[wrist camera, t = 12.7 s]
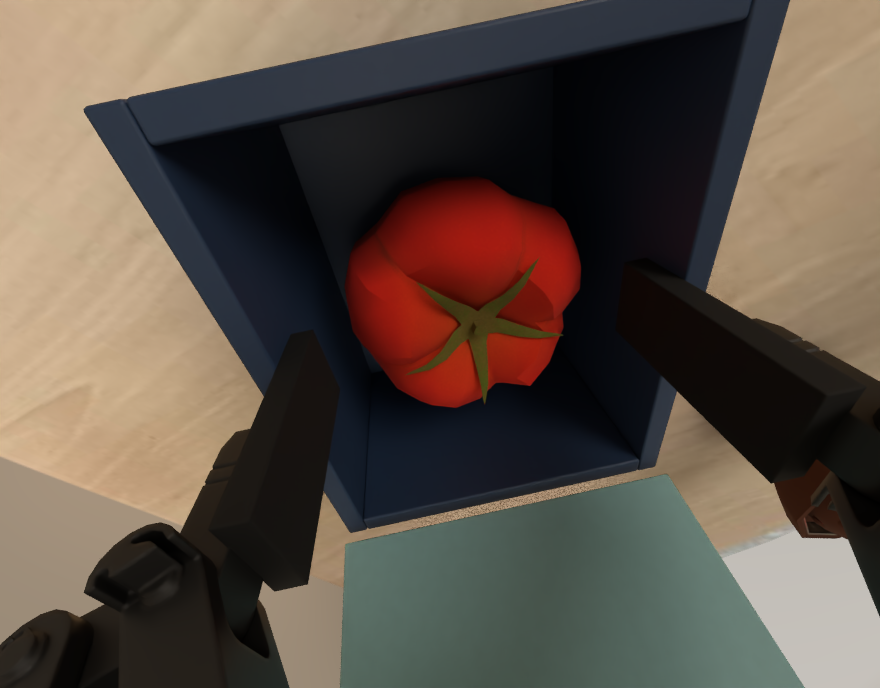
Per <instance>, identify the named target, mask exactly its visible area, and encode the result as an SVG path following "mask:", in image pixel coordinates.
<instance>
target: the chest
mask: <svg viewBox="0 0 880 688" xmlns="http://www.w3.org/2000/svg"><path fill="white" fill-rule="evenodd" d="M789 2H790V0H584V1H580V2H575V3H570V4H566V5H561V6H556V7H551V8H547V9H542V10H537V11H533V12H528V13H523V14H518V15H514V16H509V17H504V18H500V19H495V20H490V21H485V22H481V23H476V24H471V25H467V26H462V27H457V28H453V29H448V30H443V31H438V32H434V33H429V34H424V35H420V36H415V37H410V38H405V39H401V40H396V41H391V42H387V43H382V44H377V45H372V46H368V47H363V48H358V49H354V50H349V51H344V52H339V53H335V54H330V55H325V56H321V57H316V58H311V59H306V60H302V61H297V62H292V63H288V64H283V65H278V66H274V67H269V68H264V69H259V70H255V71H250V72H245V73H241V74H236V75H231V76H226V77H222V78H217V79H212V80H208V81H203V82H198V83H193V84H189V85H184V86H179V87H175V88H170V89H165V90H160V91H156V92H151V93H146V94H142V95H137V96H132V97H129V98H128V99H118V100H113V101H109V102H104V103H99V104H94V105H90V106H86V107H85V108H84V113H85V114H86V116H87V118H88V119H89V121H90V122H91V124H92V126H93V127H94V129H95V130H96V132H97V133H98V135H99V137H100V138H101V140H102V141H103V143H104V144H105V146H106V148H107V149H108V151H109V152H110V154H111V156H112V157H113V159H114V160H115V162H116V163H117V165H118V167H119V168H120V170H121V171H122V173H123V175H124V176H125V178H126V179H127V181H128V182H129V184H130V186H131V187H132V189H133V190H134V192H135V193H136V195H137V197H138V198H139V200H140V201H141V203H142V205H143V206H144V208H145V209H146V211H147V212H148V214H149V216H150V217H151V219H152V220H153V222H154V223H155V225H156V227H157V228H158V230H159V231H160V233H161V235H162V236H163V238H164V239H165V241H166V242H167V244H168V246H169V247H170V249H171V250H172V252H173V254H174V255H175V257H176V258H177V260H178V261H179V263H180V265H181V266H182V268H183V269H184V271H185V272H186V274H187V276H188V277H189V279H190V280H191V282H192V284H193V285H194V287H195V288H196V290H197V291H198V293H199V295H200V296H201V298H202V299H203V301H204V302H205V304H206V306H207V307H208V309H209V310H210V312H211V314H212V315H213V317H214V318H215V320H216V321H217V323H218V325H219V326H220V328H221V329H222V331H223V333H224V334H225V336H226V337H227V339H228V340H229V342H230V344H231V345H232V347H233V348H234V350H235V351H236V353H237V355H238V356H239V358H240V359H241V361H242V363H243V364H244V366H245V367H246V369H247V370H248V372H249V374H250V375H251V377H252V378H253V380H254V381H255V383H256V385H257V386H258V388H259V389H260V391H261V393H262V394H263V396H265V393H266V391H267V389H268V386H269V384H270V382H271V379H272V377H273V375H274V372H275V370H276V368H277V365H278V363H279V360H280V358H281V356H282V353H283V351H284V349H285V346H286V344H287V342H288V339H289V337H290V335H291V334H294V333H298V332H303V331H307V330H312V329H313V330H314V333H315V335H316V337H317V339H318V341H319V344H320V346H321V348H322V350H323V352H324V355H325V357H326V359H327V361H328V363H329V366H330V368H331V370H332V372H333V374H334V377H335V379H336V381H337V383H338V385H339V388H340V394H339V400H338V406H337V412H336V418H335V424H334V430H333V436H332V442H331V448H330V454H329V460H328V466H327V472H326V478H325V484H324V490H323V491H324V492H325V494H326V495H327V497H328V498H329V500H330V502H331V503H332V505H333V506H334V508H335V509H336V511H337V513H338V514H339V516H340V517H341V519H342V521H343V522H344V524H345V525H346V527H347V528H348V530H349V532H350V533H353V532H358V531H362V530H366V529H367V527H368V528H369V529H371V528H376V527H380V526H385V525H389V524H394V523H399V522H403V521H408V520H412V519H417V518H421V517H426V516H431V515H435V514H440V513H444V512H449V511H454V510H458V509H463V508H467V507H472V506H477V505H481V504H486V503H490V502H495V501H499V500H504V499H509V498H513V497H518V496H522V495H527V494H532V493H536V492H541V491H545V490H550V489H554V488H559V487H564V486H568V485H573V484H577V483H582V482H587V481H591V480H596V479H600V478H605V477H609V476H614V475H619V474H623V473H628V472H632V471H636V470H637V469H638V470H642V469H647V468H652V467H654V466H655V465H656V461H657V458H658V454H659V451H660V448H661V444H662V441H663V437H664V434H665V430H666V427H667V423H668V420H669V416H670V413H671V410H672V406H673V403H674V399H675V396H676V392H677V390H676V389H674V388H673V387H672V386H671V385H670V384H669V383H668V382H667V381H666V380H665V379H664V378H663V377H662V376H661V375H660V374H659V373H658V372H657V371H656V370H655V369H654V368H653V367H652V366H651V365H650V364H649V363H648V362H647V361H646V360H645V359H644V358H643V357H642V356H641V355H640V354H639V353H638V352H637V351H636V350H635V349H634V348H633V347H632V346H631V345H630V344H629V343H628V342H627V341H626V340H625V339H624V338H623V337H622V336H621V335H620V334H619V333H618V332H616V331H615V327H616V320H617V312H618V305H619V297H620V290H621V282H622V275H623V268H624V262H628V261H633V260H638V259H642V258H648V259H650V260H651V261H653V262H655V263H656V264H658V265H660V266H662V267H663V268H665V269H667V270H668V271H670V272H672V273H674V274H675V275H677V276H679V277H680V278H682V279H684V280H685V281H687V282H689V283H691V284H692V285H694V286H696V287H697V288H699V289H701V290H703V291H704V292H706V289H707V285H708V282H709V278H710V275H711V271H712V268H713V264H714V261H715V258H716V254H717V251H718V247H719V244H720V240H721V237H722V233H723V230H724V226H725V223H726V220H727V216H728V213H729V209H730V206H731V202H732V199H733V195H734V192H735V188H736V185H737V182H738V178H739V175H740V171H741V168H742V164H743V161H744V157H745V154H746V150H747V147H748V144H749V140H750V137H751V133H752V130H753V126H754V123H755V119H756V116H757V112H758V109H759V106H760V102H761V99H762V95H763V92H764V88H765V85H766V81H767V78H768V74H769V71H770V68H771V64H772V61H773V57H774V54H775V50H776V47H777V43H778V40H779V36H780V33H781V30H782V26H783V23H784V19H785V16H786V12H787V9H788V5H789ZM474 176H478V177H481V178H485V179H488V180H490V181H491V182H493V183H494V184H496V185H497V186H499V187H500V188H501V189H503V190H504V191H506V192H507V193H509V194H510V195H513V196H516V197H519V198H523V199H526V200H529V201H532V202H535V203H538V204H541V205H545V206H548V207H552V208H554V209H555V210H556V211H557V212H558V213H559V214H560V215H561V216H562V217H563V218H564V219H565V221H566V223H567V225H568V227H569V230H570V232H571V235H572V237H573V239H574V242H575V244H576V247H577V249H578V254H579V259H580V264H581V279H580V289H579V291H578V292H577V293H576V295H575V296H574V297H573V299H572V300H571V301H570V303H569V304H568V306H567V307H566V308H565V310H564V311H563V312H562V315H563V329H562V332H561V334H562V335H563V336H560V337H559V339H558V342H557V344H556V347H555V349H554V352H553V354H552V357H551V359H550V362H549V363H548V365H547V366H546V367H545V368H544V370H543V371H542V372H541V373H540V374H539V376H538V377H537V378H536V379H535V381H534V382H533V383H532V384H531V385H530V386H528V385H519V384H511V383H503V382H502V383H495V384H494V385H493V386H492V387H491V388H490V389H489V390H488V391H487V396H486V401H485V404H484V401H483V396H482V397H481V398H480V399H478V400H475V401H473V402H470V403H468V404H465V405H462V406H460V407H457V408H453V407H444V406H435V405H430V404H427V403H424V402H421V401H419V400H417V399H415V398H414V397H412V396H410V395H408V394H406V393H405V392H403V391H401V390H399V389H397V388H396V386H395V385H394V384H393V382H392V381H391V380H390V378H389V377H388V376H387V374H386V373H385V372H384V370H383V369H382V368H381V366H380V365H379V364H378V362H377V361H376V360H375V358H374V357H373V356H372V354H371V353H370V352H369V351H368V349H366V348H365V347H364V346H363V344H362V343H361V342H360V340H359V339H358V338H357V336H356V335H355V334H354V333H353V330H352V325H351V320H350V314H349V309H348V304H347V298H346V292H345V280H346V275H347V269H348V264H349V258H350V253H351V251H352V249H353V247H354V244H355V242H357V241H358V240H359V239H360V238H361V237H362V236H363V235H364V234H365V233H367V232H368V231H369V230H370V229H371V228H372V227H373V226H374V225H375V224H376V223H377V222H378V221H379V220H380V218H381V217H382V216H383V214H384V213H385V212H386V210H387V209H388V208H389V207H390V205H391V204H392V203H393V201H394V200H395V199H396V197H397V196H398V195H399V193H400V192H401V191H404V190H406V189H409V188H412V187H414V186H417V185H420V184H422V183H425V182H428V181H430V180H433V179H436V178H448V177H474Z"/></svg>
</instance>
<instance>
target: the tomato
mask: <svg viewBox="0 0 880 688" xmlns="http://www.w3.org/2000/svg"><path fill="white" fill-rule="evenodd" d="M580 279H581V264H580V259H579V254H578V249H577V247H576V244H575V242H574V239H573V237H572V235H571V232H570V230H569V227H568V225H567V223H566V221H565V219H564V218H563V217H562V216H561V215H560V214H559V213H558V212H557V211H556V210H555V209H554V208H552V207H548V206H545V205H541V204H538V203H535V202H532V201H529V200H526V199H523V198H519V197H516V196H513V195H510V194H509V193H507V192H506V191H504V190H503V189H501V188H500V187H499V186H497V185H496V184H494V183H493V182H491V181H490V180H488V179H485V178H481V177H478V176H474V177H448V178H436V179H433V180H430V181H428V182H425V183H422V184H420V185H417V186H414V187H412V188H409V189H406V190H404V191H401V192H400V193H399V195H398V196H397V197H396V199H395V200H394V201H393V203H392V204H391V205H390V207H389V208H388V209H387V210H386V212H385V213H384V214H383V216H382V217H381V218H380V220H379V221H378V222H377V223H376V224H375V225H374V226H373V227H372V228H371V229H370V230H369V231H368V232H367V233H365V234H364V235H363V236H362V237H361V238H360V239H359V240H358V241H357V242H355V244H354V247H353V249H352V251H351V253H350V258H349V264H348V269H347V275H346V280H345V292H346V298H347V304H348V309H349V314H350V320H351V325H352V330H353V333H354V334H355V335H356V336H357V338H358V339H359V340H360V342H361V343H362V344H363V346H364V347H365V348H366V349H368V351H369V352H370V353H371V354H372V356H373V357H374V358H375V360H376V361H377V362H378V364H379V365H380V366H381V368H382V369H383V370H384V372H385V373H386V374H387V376H388V377H389V378H390V380H391V381H392V382H393V384H394V385H395V386H396V388H397V389H399V390H401V391H403V392H405V393H406V394H408V395H410V396H412V397H414V398H415V399H417V400H419V401H421V402H424V403H427V404H430V405H435V406H444V407H453V408H457V407H460V406H462V405H465V404H468V403H470V402H473V401H475V400H478V399H480V398H481V397H482V396H483V401H484V404H485V401H486V396H487V391H488V390H489V389H490V388H491V387H492V386H493V385H494V384H495V383H502V382H503V383H511V384H519V385H528V386H530V385H531V384H532V383H533V382H534V381H535V379H536V378H537V377H538V376H539V374H540V373H541V372H542V371H543V370H544V368H545V367H546V366H547V365H548V363H549V362H550V359H551V357H552V354H553V352H554V349H555V347H556V344H557V342H558V339H559V337H560V336H563V335H562V334H561V332H562V329H563V315H562V312H563V311H564V310H565V308H566V307H567V306H568V304H569V303H570V301H571V300H572V299H573V297H574V296H575V295H576V293H577V292H578V291H579V289H580Z"/></svg>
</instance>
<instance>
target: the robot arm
mask: <svg viewBox="0 0 880 688" xmlns="http://www.w3.org/2000/svg"><path fill="white" fill-rule="evenodd" d="M615 331H616V332H618V333H619V334H620V335H621V336H622V337H623V338H624V339H625V340H626V341H627V342H628V343H629V344H630V345H631V346H632V347H633V348H634V349H635V350H636V351H637V352H638V353H639V354H640V355H641V356H642V357H643V358H644V359H645V360H646V361H647V362H648V363H649V364H650V365H651V366H652V367H653V368H654V369H655V370H656V371H657V372H658V373H659V374H660V375H661V376H662V377H663V378H664V379H665V380H666V381H667V382H668V383H669V384H670V385H671V386H672V387H673V388H674V389H676V390H677V391H678V392H679V393H680V394H681V395H682V396H683V397H684V398H685V399H686V400H687V401H688V402H689V403H690V404H691V405H692V406H693V407H694V408H695V409H696V410H697V411H698V412H699V413H700V414H701V415H702V416H703V417H704V418H705V419H706V420H707V421H708V422H709V423H710V424H711V425H712V426H713V427H714V428H715V429H716V430H717V431H718V432H719V433H720V434H721V435H722V436H723V437H724V438H725V439H726V440H727V441H728V442H729V443H730V444H731V445H732V446H734V447H735V448H736V449H737V450H738V451H739V452H740V453H741V454H742V455H743V456H744V457H745V458H746V459H747V460H748V461H749V462H750V463H751V464H752V465H753V466H754V467H755V468H756V469H757V470H758V471H759V472H760V473H761V474H762V475H763V476H764V477H765V478H766V479H767V480H768V481H769V482H770V483H776V482H780V481H785V480H789V479H794V478H799V477H803V476H805V474H806V473H807V471H808V470H809V469H810V467H811V466H812V464H813V463H814V462H815V460H816V459H817V460H818V461H820V462H821V463H822V464H823V465H824V466H826V467H827V468H828V469H829V470H831V471H830V472H829V474H828V475H827V476H826V477H825V479H824V480H823V481H822V483H821V484H820V485H819V487H818V488H817V489H816V491H815V492H814V493H813V494H812V496H811V505H812V506H816V507H818V506H819V505H820V504H821V502H822V501H823V500H824V499H825V498H826V496H827V495H828V494H830V496H831V499H832V501H831V502H830V503H829V505H828V507H827V509H829V510H833V511H837V513H838V516H839V518H840V521H841V523H842V525H843V528H844V530H845V533H846V535H847V538H848V540H849V543H850V545H851V547H852V550H853V552H854V555H855V557H856V560H857V562H858V565H859V567H860V569H861V572H862V574H863V577H864V579H865V582H866V584H867V586H868V589H869V591H870V594H871V596H872V599H873V601H874V604H875V606H876V609H877V611H878V613H879V616H880V382H879V381H878V380H876V379H874V378H872V377H870V376H869V375H867V374H865V373H863V372H862V371H860V370H858V369H856V368H854V367H853V366H851V365H849V364H847V363H845V362H844V361H842V360H840V359H838V358H837V357H835V356H833V355H831V354H829V353H828V352H826V351H824V350H823V351H820V350H819V347H817V346H815V345H813V344H812V343H810V342H808V341H803V340H802V338H801V337H799V336H797V335H795V334H794V333H792V332H790V331H788V330H786V329H785V328H783V327H781V326H778V325H775V324H772V323H769V322H766V321H763V320H760V319H757V318H756V319H750V318H749V317H747V316H745V315H744V314H742V313H740V312H738V311H737V310H735V309H733V308H732V307H730V306H728V305H727V304H725V303H723V302H721V301H720V300H718V299H716V298H715V297H713V296H711V295H709V294H708V293H706V292H704V291H703V290H701V289H699V288H697V287H696V286H694V285H692V284H691V283H689V282H687V281H685V280H684V279H682V278H680V277H679V276H677V275H675V274H674V273H672V272H670V271H668V270H667V269H665V268H663V267H662V266H660V265H658V264H656V263H655V262H653V261H651V260H650V259H648V258H642V259H638V260H633V261H628V262H624V268H623V275H622V282H621V290H620V297H619V305H618V312H617V320H616V327H615ZM339 394H340V388H339V385H338V383H337V381H336V379H335V377H334V374H333V372H332V370H331V368H330V366H329V363H328V361H327V359H326V357H325V355H324V352H323V350H322V348H321V346H320V344H319V341H318V339H317V337H316V335H315V333H314V330H313V329H312V330H307V331H303V332H298V333H294V334H291V335H290V337H289V339H288V342H287V344H286V346H285V349H284V351H283V353H282V356H281V358H280V360H279V363H278V365H277V368H276V370H275V372H274V375H273V377H272V379H271V382H270V384H269V386H268V389H267V391H266V393H265V396H264V398H263V401H262V403H261V405H260V408H259V410H258V412H257V415H256V417H255V419H254V422H253V424H252V426H251V429H247V430H243V431H238V432H236V433H235V434H234V435H233V436H232V437H231V438H230V439H229V440H228V442H227V443H226V444H225V445H224V446H223V447H222V448H221V450H220V452H219V454H218V456H217V458H216V460H215V462H214V465H213V470H211V471H210V473H209V475H208V477H207V479H206V481H205V483H206V485H205V486H203V487H202V489H201V491H200V493H199V495H198V498H197V500H196V502H195V504H194V506H193V508H192V510H191V512H190V514H189V516H188V518H187V520H186V522H185V524H184V526H183V529H182V531H181V533H179V532H177V531H176V530H175V529H174V528H173V527H172V526H170V525H167V524H164V523H155V524H150V525H146V526H144V527H142V528H140V529H138V530H136V531H134V532H132V533H130V534H129V535H127V536H126V537H125V538H124V539H122V540H121V541H119V542H118V543H117V544H115V545H114V546H113V547H112V548H111V549H110V550H109V552H107V553H106V555H105V556H104V557H103V558H102V559H101V560H100V561H99V562H98V564H97V565H96V567H95V568H94V570H93V572H92V573H91V575H90V576H89V578H88V581H87V584H86V587H85V590H84V593H85V594H87V595H89V596H91V597H92V598H94V599H96V600H98V601H100V602H102V603H104V605H102V606H101V607H99V608H97V609H95V610H93V611H91V612H89V613H87V614H85V615H83V616H81V617H78V616H76V615H74V614H72V613H70V612H68V611H63V610H57V609H56V610H53V611H49V612H46V613H43V614H40V615H39V616H37V617H36V618H34V619H32V620H31V621H29V622H27V623H26V624H24V625H22V626H21V627H20V628H19V629H18V630H17V631H16V632H14V633H13V634H12V635H11V636H9V637H8V638H7V639H6V640H5V641H4V642H2V644H1V645H0V688H289V685H288V681H287V678H286V675H285V672H284V669H283V665H282V662H281V659H280V656H279V653H278V650H277V646H276V643H275V640H274V636H273V633H272V630H271V627H270V624H269V621H268V617H267V614H266V611H265V608H264V607H263V605H262V603H261V602H260V601H259V600H258V597H259V594H260V590H261V586H262V582H263V581H264V582H265V583H266V584H267V585H268V586H269V587H270V588H271V589H272V590H274V591H279V590H283V589H288V588H293V587H297V586H302V585H307V584H308V580H309V574H310V568H311V562H312V556H313V550H314V544H315V538H316V532H317V526H318V520H319V514H320V508H321V502H322V496H323V490H324V484H325V478H326V472H327V466H328V460H329V454H330V448H331V442H332V436H333V430H334V424H335V418H336V412H337V406H338V400H339Z"/></svg>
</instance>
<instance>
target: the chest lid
mask: <svg viewBox="0 0 880 688" xmlns="http://www.w3.org/2000/svg"><path fill="white" fill-rule="evenodd" d="M340 688H805V687H804V686H803V684H802V683H801V681H800V680H799V678H798V677H797V675H796V674H795V672H794V670H793V669H792V667H791V666H790V664H789V663H788V661H787V659H786V658H785V656H784V655H783V653H782V652H781V650H780V649H779V647H778V645H777V644H776V642H775V641H774V640H773V638H772V636H771V635H770V633H769V631H768V630H767V628H766V627H765V625H764V624H763V622H762V621H761V619H760V617H759V616H758V614H757V613H756V611H755V610H754V608H753V607H752V605H751V603H750V602H749V600H748V599H747V597H746V596H745V594H744V592H743V591H742V589H741V588H740V586H739V585H738V583H737V582H736V580H735V578H734V577H733V575H732V574H731V572H730V571H729V569H728V568H727V566H726V564H725V563H724V561H723V560H722V558H721V557H720V555H719V554H718V552H717V550H716V549H715V547H714V546H713V544H712V543H711V541H710V540H709V538H708V536H707V535H706V533H705V532H704V530H703V529H702V527H701V526H700V524H699V522H698V521H697V519H696V518H695V516H694V515H693V513H692V512H691V510H690V508H689V507H688V505H687V504H686V502H685V501H684V499H683V498H682V496H681V494H680V493H679V491H678V490H677V488H676V487H675V485H674V484H673V482H672V480H671V479H670V477H669V476H668V474H664V475H660V476H655V477H650V478H646V479H641V480H637V481H632V482H627V483H623V484H618V485H614V486H609V487H605V488H600V489H595V490H591V491H586V492H582V493H577V494H572V495H568V496H563V497H559V498H554V499H550V500H545V501H540V502H536V503H531V504H527V505H522V506H517V507H513V508H508V509H504V510H499V511H495V512H490V513H485V514H481V515H476V516H472V517H467V518H462V519H458V520H453V521H449V522H444V523H440V524H435V525H430V526H426V527H421V528H417V529H412V530H407V531H403V532H398V533H394V534H389V535H385V536H380V537H375V538H371V539H366V540H362V541H357V542H352V543H348V544H345V565H344V593H343V620H342V648H341V675H340Z"/></svg>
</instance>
